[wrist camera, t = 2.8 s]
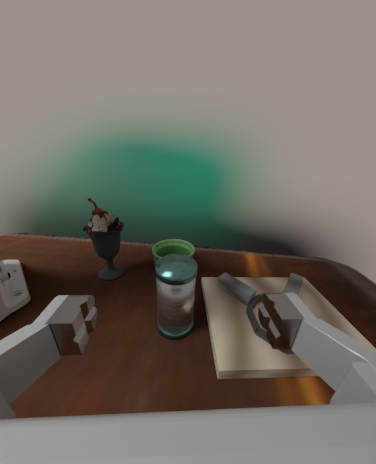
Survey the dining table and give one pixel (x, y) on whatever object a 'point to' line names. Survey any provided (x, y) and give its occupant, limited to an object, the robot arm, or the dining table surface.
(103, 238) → the sundae
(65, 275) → the dining table surface
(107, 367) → the dining table surface
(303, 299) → the board
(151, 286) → the dining table surface
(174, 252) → the ramekin
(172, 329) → the teal-capped glass jar
